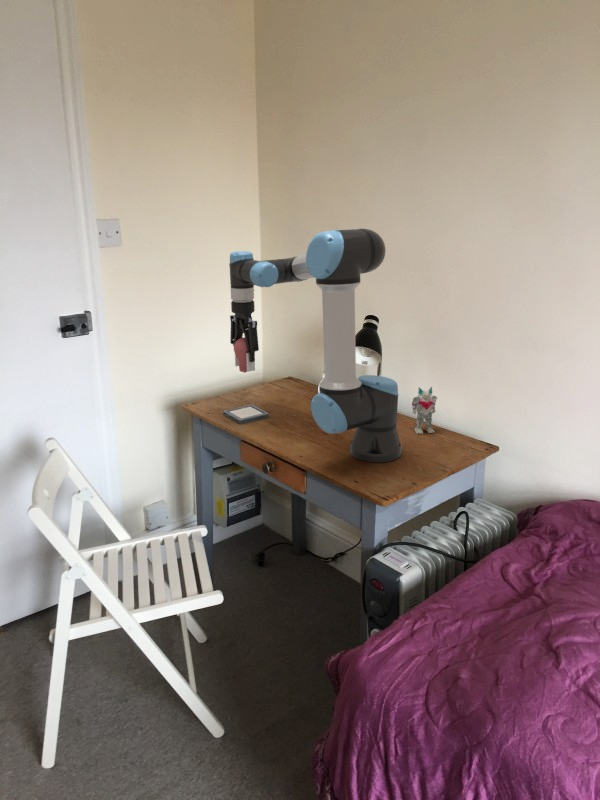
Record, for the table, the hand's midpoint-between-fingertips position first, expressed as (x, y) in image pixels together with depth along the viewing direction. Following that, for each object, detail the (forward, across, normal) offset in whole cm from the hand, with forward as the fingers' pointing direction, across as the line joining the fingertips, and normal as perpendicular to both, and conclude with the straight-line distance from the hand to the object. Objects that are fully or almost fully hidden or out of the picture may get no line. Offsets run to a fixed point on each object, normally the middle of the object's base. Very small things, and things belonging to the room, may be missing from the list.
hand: (245, 368), depth 219 cm
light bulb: (+2, 0, 0) cm, 2 cm away
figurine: (+17, -46, -39) cm, 63 cm away
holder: (+17, 0, 0) cm, 17 cm away
